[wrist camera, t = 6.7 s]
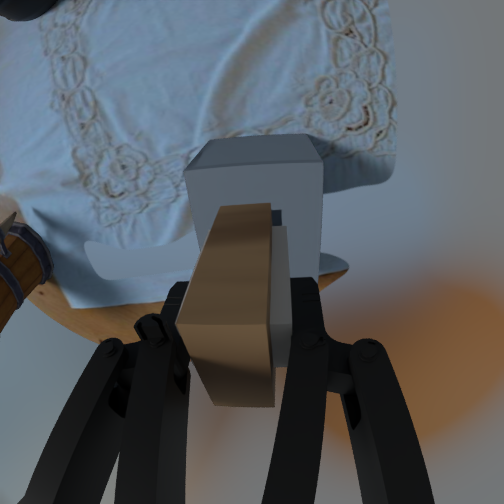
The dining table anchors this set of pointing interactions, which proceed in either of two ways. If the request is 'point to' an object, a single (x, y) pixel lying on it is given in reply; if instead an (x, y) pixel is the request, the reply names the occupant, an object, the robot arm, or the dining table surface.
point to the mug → (20, 265)
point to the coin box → (263, 189)
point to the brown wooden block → (233, 309)
